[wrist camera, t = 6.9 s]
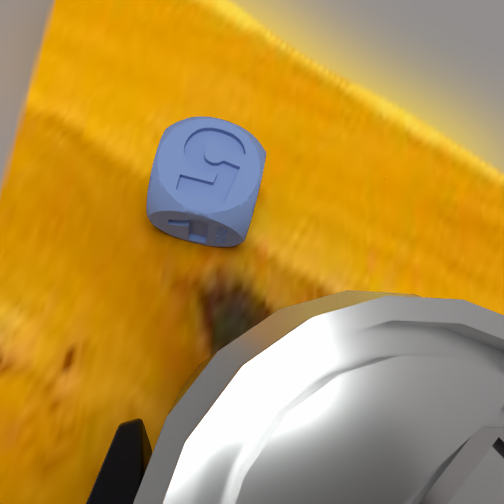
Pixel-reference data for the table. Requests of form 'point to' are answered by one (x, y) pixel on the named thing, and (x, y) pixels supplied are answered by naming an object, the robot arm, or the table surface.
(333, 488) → the beer can
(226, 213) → the decorative dice
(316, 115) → the table surface
